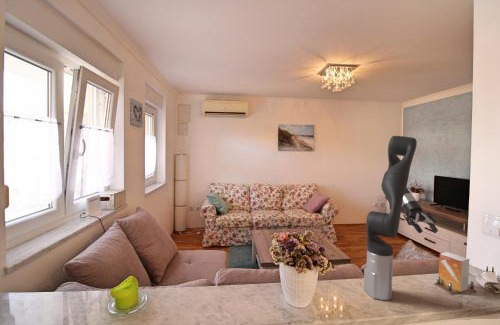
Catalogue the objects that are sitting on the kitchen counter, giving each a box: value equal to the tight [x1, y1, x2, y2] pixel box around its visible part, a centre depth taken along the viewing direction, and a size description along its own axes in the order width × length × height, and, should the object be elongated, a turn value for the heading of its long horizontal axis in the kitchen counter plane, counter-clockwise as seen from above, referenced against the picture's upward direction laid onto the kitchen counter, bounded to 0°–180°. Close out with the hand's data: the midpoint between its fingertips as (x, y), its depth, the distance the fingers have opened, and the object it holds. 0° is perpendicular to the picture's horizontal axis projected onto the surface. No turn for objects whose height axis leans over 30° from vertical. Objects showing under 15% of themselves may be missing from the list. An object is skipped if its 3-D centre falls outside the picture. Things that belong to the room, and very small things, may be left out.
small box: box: [438, 251, 470, 292], centre depth 99 cm, size 8×6×13 cm
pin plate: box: [434, 276, 477, 295], centre depth 99 cm, size 12×7×4 cm, turn 99°
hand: (428, 232), depth 111 cm, fingers open, 8 cm apart
